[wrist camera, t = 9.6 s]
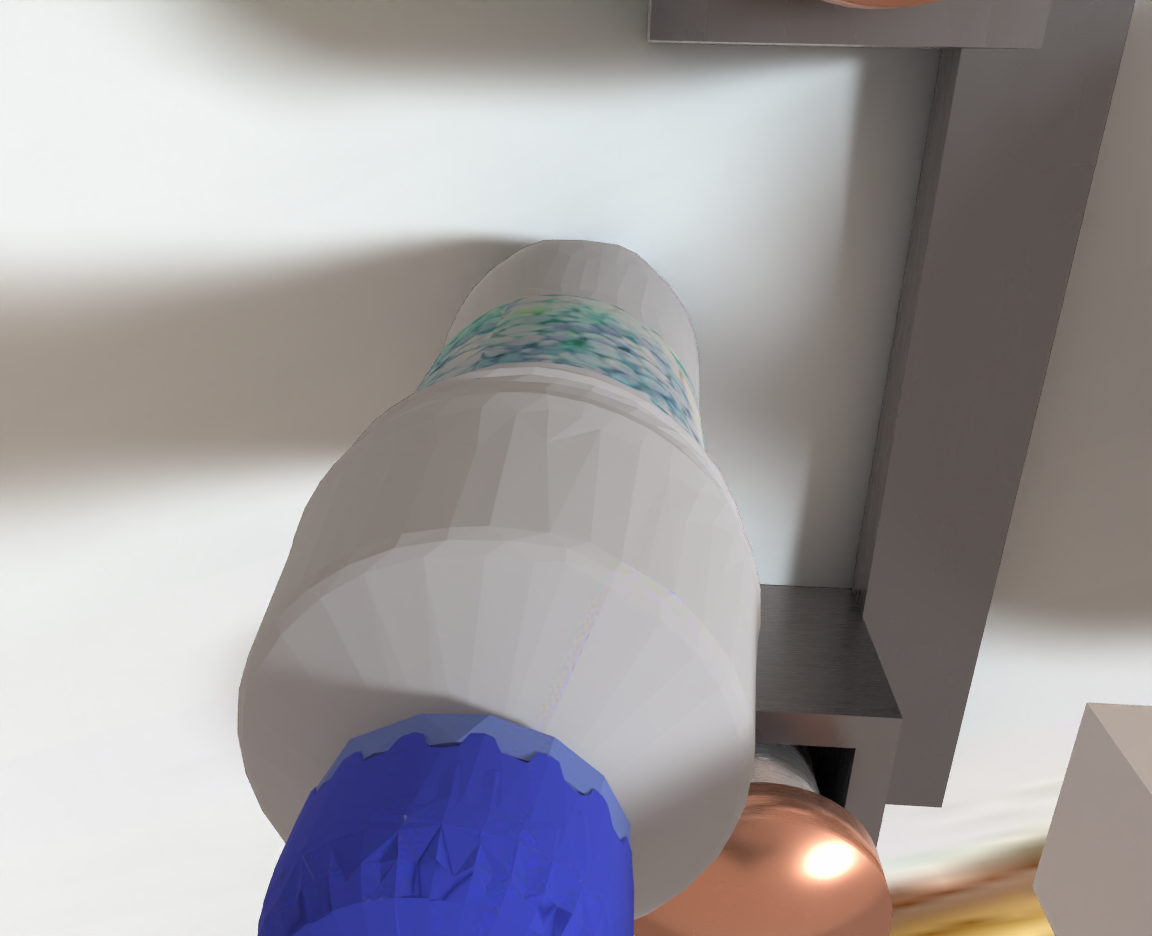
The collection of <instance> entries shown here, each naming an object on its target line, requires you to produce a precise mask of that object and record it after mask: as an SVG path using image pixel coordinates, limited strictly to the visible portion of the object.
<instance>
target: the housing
mask: <svg viewBox="0 0 1152 936" xmlns="http://www.w3.org/2000/svg"><path fill="white" fill-rule="evenodd" d="M1134 3H1135V0H941V1H936V2H931V3H926V4H921V5H915V6H908V7H902V8H893V9H873V10H871V9H860V8H850V7H844V6H840V5H836V4H832V3H828V2H824V1H821V0H649V5H648V26H647V42H648V43H695V44H743V45H790V46H837V47H884V48H931V49H942V50H941V56H940V62H939V68H938V74H937V80H936V86H935V92H934V98H933V104H932V110H931V116H930V122H929V128H928V134H927V140H926V146H925V152H924V158H923V164H922V170H921V176H920V182H919V188H918V194H917V200H916V206H915V212H914V218H913V224H912V230H911V236H910V242H909V248H908V254H907V260H906V266H905V272H904V278H903V284H902V290H901V296H900V302H899V308H898V314H897V320H896V326H895V332H894V338H893V344H892V350H891V356H890V362H889V368H888V374H887V380H886V386H885V392H884V398H883V404H882V410H881V416H880V422H879V428H878V435H877V441H876V447H875V453H874V459H873V465H872V471H871V477H870V483H869V489H868V495H867V501H866V507H865V513H864V519H863V525H862V531H861V537H860V543H859V549H858V555H857V561H856V567H855V573H854V579H853V585H852V589H838V588H817V587H797V586H776V585H760V588H761V623H760V631H759V636H758V649H757V665H756V705H755V743H771V744H789V745H806V746H808V749H809V753H810V757H811V761H812V765H813V769H814V773H815V778H816V782H817V786H818V790H819V794H820V795H822V796H824V797H826V798H828V799H830V800H832V801H834V802H835V803H837V804H838V805H840V806H842V807H843V808H845V809H846V810H847V811H848V812H849V813H851V814H852V815H853V816H854V817H855V818H856V819H857V820H858V821H859V822H860V823H861V824H862V825H863V826H864V828H865V829H866V831H867V832H868V834H869V835H870V837H871V838H872V841H873V843H874V845H875V847H876V846H877V841H878V837H879V832H880V827H881V822H882V817H883V812H884V808H885V804H894V805H911V806H928V807H942V802H943V798H944V794H945V790H946V786H947V782H948V777H949V773H950V769H951V765H952V761H953V757H954V752H955V748H956V744H957V740H958V736H959V732H960V727H961V723H962V719H963V715H964V711H965V707H966V702H967V698H968V694H969V690H970V686H971V682H972V678H973V673H974V669H975V665H976V661H977V657H978V653H979V648H980V644H981V640H982V636H983V632H984V628H985V623H986V619H987V615H988V611H989V607H990V603H991V598H992V594H993V590H994V586H995V582H996V578H997V573H998V569H999V565H1000V561H1001V557H1002V553H1003V549H1004V544H1005V540H1006V536H1007V532H1008V528H1009V524H1010V519H1011V515H1012V511H1013V507H1014V503H1015V499H1016V494H1017V490H1018V486H1019V482H1020V478H1021V474H1022V469H1023V465H1024V461H1025V457H1026V453H1027V449H1028V444H1029V440H1030V436H1031V432H1032V428H1033V424H1034V420H1035V415H1036V411H1037V407H1038V403H1039V399H1040V395H1041V390H1042V386H1043V382H1044V378H1045V374H1046V370H1047V365H1048V361H1049V357H1050V353H1051V349H1052V345H1053V340H1054V336H1055V332H1056V328H1057V324H1058V320H1059V315H1060V311H1061V307H1062V303H1063V299H1064V295H1065V290H1066V286H1067V282H1068V278H1069V274H1070V270H1071V266H1072V261H1073V257H1074V253H1075V249H1076V245H1077V241H1078V236H1079V232H1080V228H1081V224H1082V220H1083V216H1084V211H1085V207H1086V203H1087V199H1088V195H1089V191H1090V186H1091V182H1092V178H1093V174H1094V170H1095V166H1096V161H1097V157H1098V153H1099V149H1100V145H1101V141H1102V137H1103V132H1104V128H1105V124H1106V120H1107V116H1108V112H1109V107H1110V103H1111V99H1112V95H1113V91H1114V87H1115V82H1116V78H1117V74H1118V70H1119V66H1120V62H1121V57H1122V53H1123V49H1124V45H1125V41H1126V37H1127V32H1128V28H1129V24H1130V20H1131V16H1132V12H1133V8H1134Z"/></svg>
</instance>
